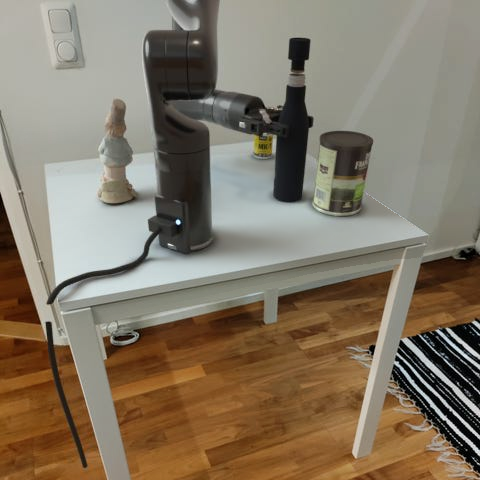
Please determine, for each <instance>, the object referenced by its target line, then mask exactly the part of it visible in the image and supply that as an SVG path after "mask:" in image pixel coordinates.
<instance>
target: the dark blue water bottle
mask: <svg viewBox="0 0 480 480" xmlns="http://www.w3.org/2000/svg"><path fill="white" fill-rule="evenodd" d="M310 51H311V39H310V38H308V37H291V38H289V40H288V54H287V59H288V60H291V63H290V72H291V73H289V74H288V78H287V79H288V80H287V85H286V87H285V101H284V104H283V105H282V106H283V109H282V111H281V114H280V118H279V121H278V123H281V124H286V125H288V126H289V135H288V136H287V137H281V136H277V135H276V137H275V138H276V140H275V156H274V157H275V158H274V175H273V189H272V190H273V191H272V192H273V193H272V196H273V198H274V199H275V200H276V201H279V202H282V203H283V202H285V203H295V202H298V201H301V200H302V198H303V193H304V183H305V172H306V164H307V163H306V161H307V153H308V152H307V151H308V142H309V132H310V128H309V122H308V116H309V113H308V110H307V104H306V92H307V85H306V79H307V78H306V74H304V73H305V72H306V71H305V68H306V67H305V66H306V65H305V64H306V61H309V59H310Z"/></svg>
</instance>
